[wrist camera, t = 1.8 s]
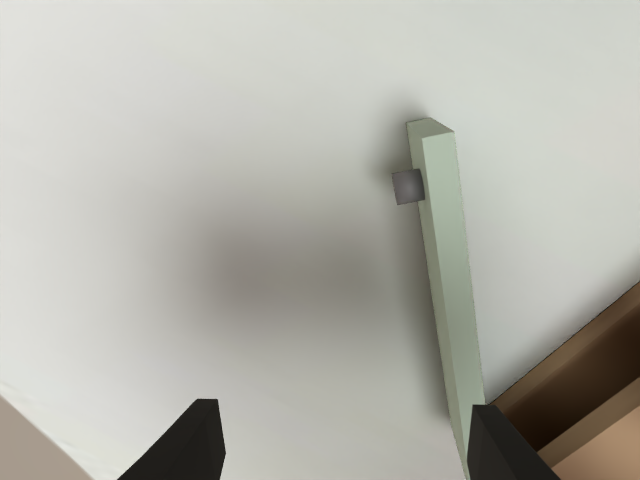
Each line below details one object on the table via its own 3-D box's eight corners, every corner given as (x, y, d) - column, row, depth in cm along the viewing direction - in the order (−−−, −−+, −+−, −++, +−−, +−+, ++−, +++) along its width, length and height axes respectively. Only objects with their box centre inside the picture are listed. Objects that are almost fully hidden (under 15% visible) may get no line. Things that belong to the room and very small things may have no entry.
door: (469, 421, 23) (496, 500, 19) (432, 425, 23) (448, 504, 19) (430, 117, 18) (454, 131, 14) (381, 128, 18) (390, 144, 14)
